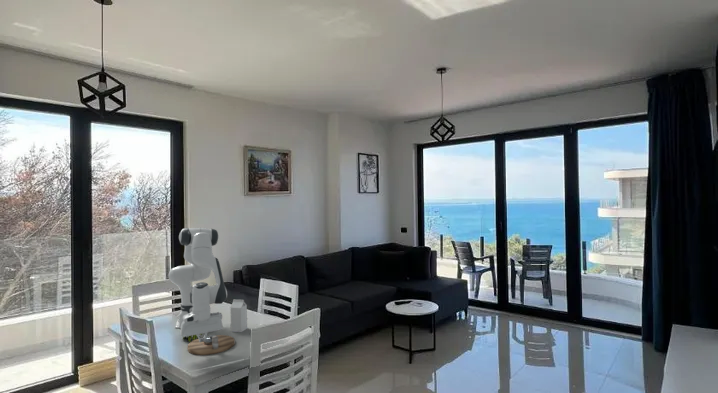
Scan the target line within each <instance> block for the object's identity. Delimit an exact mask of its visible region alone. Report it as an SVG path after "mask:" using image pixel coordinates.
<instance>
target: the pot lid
mask: <svg viewBox="0 0 718 393" xmlns="http://www.w3.org/2000/svg"><path fill="white" fill-rule="evenodd" d="M216 335H217V334H211V335H207V336H206V338H205V341H204V345H212V337H213V336H216Z"/></svg>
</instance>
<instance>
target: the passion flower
mask: <svg viewBox="0 0 718 393" xmlns="http://www.w3.org/2000/svg"><path fill="white" fill-rule="evenodd" d="M202 335H203V333H202V334H200V336H202ZM186 338H187V340H188V342H189V343H190V342H192V341H194V340H196V339H198V337H197V335H191V336H186V337H182V338H181V340H186Z"/></svg>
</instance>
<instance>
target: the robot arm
mask: <svg viewBox="0 0 718 393" xmlns="http://www.w3.org/2000/svg"><path fill="white" fill-rule="evenodd" d="M219 239H220V238H219V232H218V230H217V229H214V228H205V227H191V228H189V227H185V228H182V229H181V230H180V232H179V235H178V240H179V244H180V245H181V246H184V252H183V258H184V260H185V261H186V262H187V263H189V264H184V265H178V266H176V267H172V268H170V270H169V272H168V279H169V281H170V282H171V283H172V284H174V285H175V286H177V288H178V289H179V292H180V298H181V299H180V300H181V304H180V312H179V314H178V315H176V320H177V321H176V323H175V329H180V336H181V337H182V338H183V337H186V336H188V337H189V336H191V335H192V336H193V335H197V339H199V342H204V341H205V338H206V336H209V335H208V333H212V332H216V331H217V332H218V331H221V330H222V329H223V322H222V321H223V314H222V312H219V311H218V312H212V311H211V305H213V304H214V305H215V304H216V305H220V304H223V303H224V302H225V301H226V300H227V298H228V291H227V290H228V289H227V287H226V285H225V282H224V281H225V280H224V277H223V272H222V268H221V264H220V261H219V259H218V257H216V256H214V254H213V246H216V245H217V244H218V241H219ZM212 272H213V274H214V279H215V283H216V284H215V285H209V284H208V283H207V282H204V281H203V280H207V279H209V278H210V275H211V274H212ZM198 281H203V282H198ZM192 282H193V283H194V282H197V283H195V284H193V286H192V284H191V283H192ZM200 334H202V335H203V334H204V335H203V336H202V337H203V338H202V337H200V336H201V335H200ZM186 338H187V337H186Z"/></svg>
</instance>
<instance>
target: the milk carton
mask: <svg viewBox="0 0 718 393" xmlns="http://www.w3.org/2000/svg"><path fill="white" fill-rule="evenodd" d="M247 307H248V304H247V303H246V302H245V299H233V300H232V304H231V305H230V308H229V309H230V332H232V333H233V332H234V333H235V332H236V333H243V332H244V331H246V330H247V329H248V308H247Z"/></svg>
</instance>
